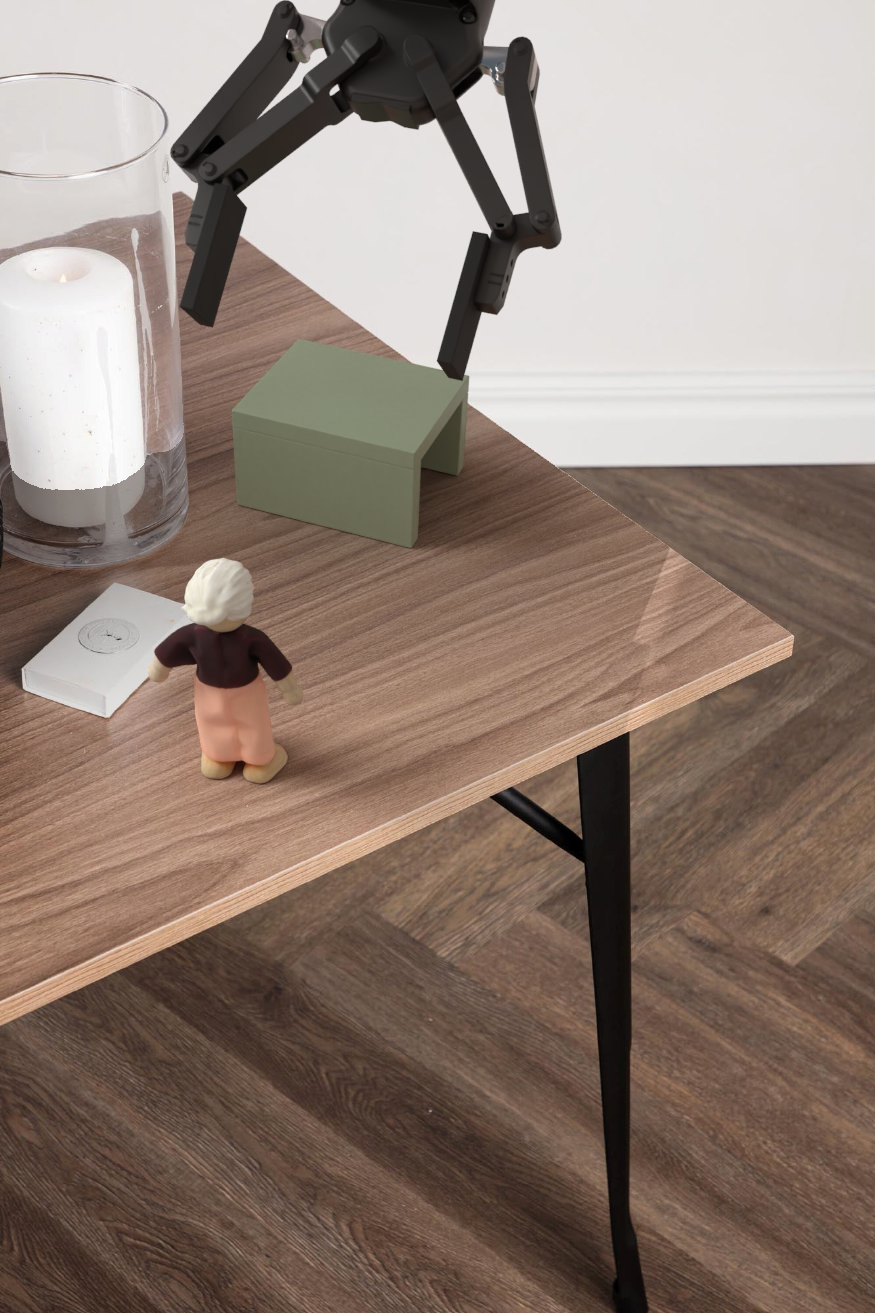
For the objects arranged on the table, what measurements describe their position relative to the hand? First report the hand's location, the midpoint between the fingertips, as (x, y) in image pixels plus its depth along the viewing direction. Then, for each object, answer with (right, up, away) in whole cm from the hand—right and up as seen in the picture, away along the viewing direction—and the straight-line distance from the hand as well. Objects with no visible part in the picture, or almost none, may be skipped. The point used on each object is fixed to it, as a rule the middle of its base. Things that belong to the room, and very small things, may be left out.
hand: (320, 344), depth 70 cm
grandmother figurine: (-5, -21, +4) cm, 22 cm away
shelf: (0, -4, +23) cm, 24 cm away
